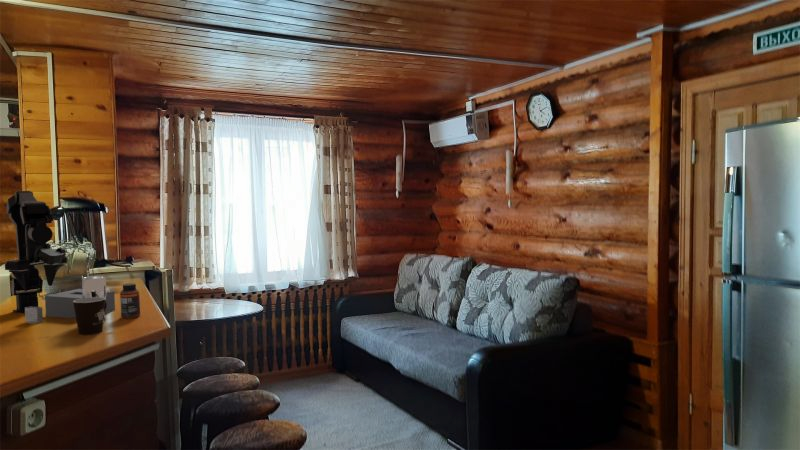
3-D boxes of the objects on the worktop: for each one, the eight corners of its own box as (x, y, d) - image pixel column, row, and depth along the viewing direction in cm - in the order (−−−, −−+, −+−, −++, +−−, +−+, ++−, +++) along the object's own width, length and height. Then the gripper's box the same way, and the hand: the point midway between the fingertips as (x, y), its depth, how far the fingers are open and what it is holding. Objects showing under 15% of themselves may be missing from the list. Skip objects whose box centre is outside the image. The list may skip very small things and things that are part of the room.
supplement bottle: (134, 314, 199) (133, 282, 198) (143, 316, 196) (142, 283, 195) (117, 317, 194) (116, 284, 194) (126, 319, 191) (125, 286, 190)
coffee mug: (84, 337, 169) (83, 303, 168) (68, 333, 174) (67, 300, 173) (121, 328, 179) (120, 297, 178) (105, 325, 183) (104, 294, 183)
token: (25, 322, 188) (24, 307, 187) (31, 321, 189) (30, 306, 189) (37, 323, 186) (36, 308, 186) (42, 322, 188) (42, 307, 188)
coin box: (45, 316, 197) (45, 295, 196) (79, 307, 210) (78, 288, 209) (83, 319, 192) (82, 298, 192) (115, 310, 205) (114, 290, 205)
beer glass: (97, 325, 183) (95, 279, 182) (78, 324, 184) (76, 278, 183) (112, 320, 190) (110, 275, 189) (94, 319, 191) (92, 275, 190)
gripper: (31, 244, 176) (33, 294, 177) (79, 238, 194) (81, 284, 195) (2, 243, 179) (4, 293, 180) (52, 237, 197) (54, 282, 198)
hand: (38, 288), depth 188 cm, fingers open, 9 cm apart
